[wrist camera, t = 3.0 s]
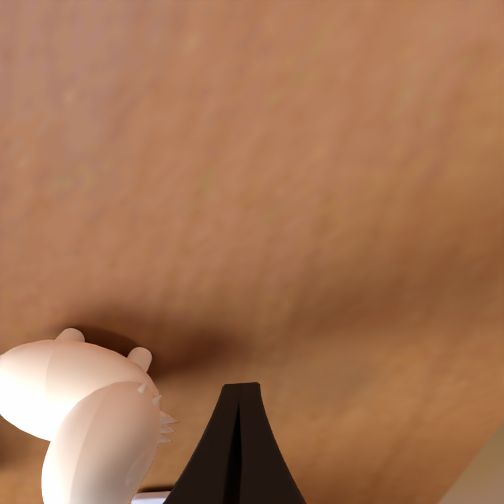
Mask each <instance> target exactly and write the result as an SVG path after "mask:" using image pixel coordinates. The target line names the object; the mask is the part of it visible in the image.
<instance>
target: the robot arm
mask: <svg viewBox="0 0 504 504" xmlns="http://www.w3.org/2000/svg"><path fill="white" fill-rule="evenodd" d="M132 504H306V502H305V500H304V498H303V497H302V495H301V493H300V491H299V489H298V487H297V485H296V484H295V482H294V480H293V478H292V476H291V474H290V472H289V470H288V468H287V465H286V463H285V461H284V459H283V457H282V454H281V452H280V450H279V448H278V445H277V443H276V440H275V438H274V435H273V433H272V430H271V427H270V424H269V422H268V419H267V416H266V413H265V409H264V405H263V402H262V397H261V390H260V384H259V383H257V382H252V383H238V384H225V385H224V386H223V387H222V390H221V393H220V396H219V399H218V402H217V404H216V407H215V409H214V412H213V414H212V416H211V419H210V421H209V423H208V425H207V427H206V429H205V431H204V434H203V436H202V438H201V440H200V442H199V444H198V445H197V447H196V449H195V451H194V453H193V455H192V457H191V459H190V460H189V462H188V464H187V466H186V467H185V469H184V471H183V473H182V474H181V476H180V478H179V479H178V481H177V482H176V484H175V486H174V487H173V489H172V490H171V491H164V492H148V493H138V494H136V495H135V496H134V497H133V500H132Z"/></svg>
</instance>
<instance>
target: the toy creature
mask: <svg viewBox="0 0 504 504" xmlns="http://www.w3.org/2000/svg"><path fill="white" fill-rule="evenodd" d="M84 342H85V338H84V336H83V334H82V333H81V332H80V331H79V330H77V329H74V328H68V329H65V330H64V331H63V332H62V333H61V334H60V335H59V336H58V337H57V338H56V339H55V340H41V341H36V342H31V343H26V344H21V345H19V346H16V347H14V348H12V349H11V350H9V351H7V352H6V353H4V354H2V355H1V356H0V414H1V415H2V416H3V417H4V418H5V419H6V420H7V421H9V422H10V423H12V424H13V425H15V426H16V427H18V428H19V429H21V430H23V431H25V432H28V433H30V434H32V435H34V436H36V437H39V438H42V439H45V440H49V441H51V443H50V446H49V448H48V451H47V454H46V457H45V460H44V464H43V470H42V495H43V500H44V504H129V502H130V501H131V500H132V499H133V497H134V496H135V494H136V492H137V491H138V489H139V487H140V484H141V483H142V481H143V479H144V478H145V476H146V474H147V473H148V471H149V469H150V466H151V464H152V462H153V459H154V457H155V454H156V450H157V446H158V443H164V442H171V440H170V439H168V438H167V437H165V436H164V435H162V434H161V433H169V432H176V431H174V430H173V429H171V428H170V427H168V426H167V425H165V424H169V423H178V421H177V420H175V419H174V418H172V417H171V416H169V415H168V414H166V413H165V412H163V411H162V410H160V399H161V397H162V395H159V392H158V389H157V388H156V386H155V385H154V383H153V381H152V380H151V378H150V376H149V375H148V374H147V373H146V372H147V370H148V368H149V365H150V363H151V361H152V355H151V353H150V351H148V350H147V349H145V348H142V347H137V348H134V349H133V350H132V351H131V352H130V353H129V355H128V357H127V358H126V357H124V356H122V355H120V354H119V353H117V352H115V351H112V350H109V349H106V348H103V347H101V346H98V345H95V344H90V343H84Z"/></svg>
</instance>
